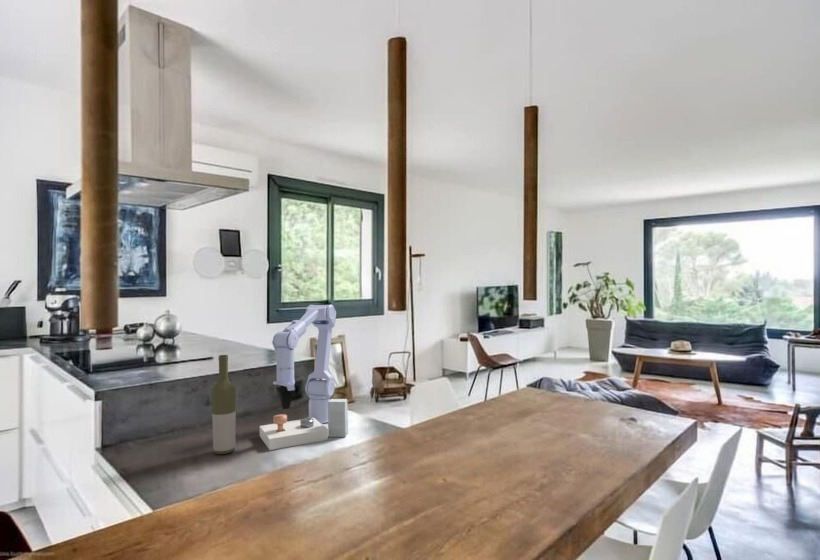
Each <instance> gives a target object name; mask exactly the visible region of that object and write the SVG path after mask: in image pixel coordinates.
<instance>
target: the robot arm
mask: <svg viewBox="0 0 820 560" xmlns="http://www.w3.org/2000/svg"><path fill="white" fill-rule="evenodd" d="M336 319H337V311H336V308H335V307H334V305H333V304H309V305H308V306H307V307H306V309H305V313H304V314H303V315H302V316H301V317H300V319H293V320H291V323H289V324H288V326H286V327H284V329H283V330H281V331H278V332H276V333H274V335H273V339H272V340H271V342H272V343H271V344H272V346H273V348H274V353H275V355H276V356H275V357H276V358H275V359H276V360H275V361H276V366H275V367H276V380H275V381H273V382H272V385H274V386H275V385H277V387H275V389H276V392H277V393H278V397H279V401H280V404H281V405H280V406H281V408H282V410H288V409H290V407H291V403H292V399H293V398H292V397H293V395H294V392H296V386H295V384H296V380H295V349H296V347H297V345H298V343H299V340H300V338H301V337H302V336H303V335H305V333H306V331H307V328H308V327H309V326H310V325H311V324H312V325H313V326H314V327H315V328H317V329H318V334H317V342H316V343H317V345H316V354H315V361H314V363H315V364H314V370H313V372H311V373H309V374H308V376H307V381H306V384H305V388H304V389H305V394H306V395H307V396H308V398H309V400H308V417H306V418H313V417H314V418H315V419H316V420H317V421H319V422H320V423H321V424H322V425H323V424H328V401H329V400H331V399H330V398H331V397H332V396H333V395H334V392H335V389H336V388H335V377H334V376H333V375H332V374H331V372H329V366H330V355H331V348H332V347H331V344H332V338H333V337H332V336H333V328H334V327H335V325H336Z"/></svg>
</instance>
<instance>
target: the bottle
mask: <svg viewBox="0 0 820 560" xmlns="http://www.w3.org/2000/svg"><path fill="white" fill-rule="evenodd" d="M228 365H229V355H228V354H220V355H218V381H217V382H216V383H215V385H213V387H211V388H212V389H211V416H212V418H211V419H212V421H211V422H212V450H213V453H214V454H215V455H226V454H227V455H228V454H230V453H232V452H234V451H235V449H236V419H237V417H236V412H237V411H236V409H237V408H236V400H237V399H236V395H237V391H236V390H237V389H236V386H235V384H233V383H232V382H231V381H230V380H229V366H228Z"/></svg>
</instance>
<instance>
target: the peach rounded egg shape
mask: <svg viewBox="0 0 820 560" xmlns="http://www.w3.org/2000/svg"><path fill="white" fill-rule="evenodd" d="M272 420H273V421H272V422H273V423H272V424H278V432H282V431H283V424H284V423H286V422H287V421H288V415H287V414H285V413H283V414H275V415H273V417H272Z"/></svg>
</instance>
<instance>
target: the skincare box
mask: <svg viewBox="0 0 820 560" xmlns="http://www.w3.org/2000/svg"><path fill="white" fill-rule="evenodd" d="M348 410H349V409H348V398H331V399H330V400H329V401H328V423H327V426H328V427H327V429H328V438H345V437H347V435H349V411H348Z"/></svg>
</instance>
